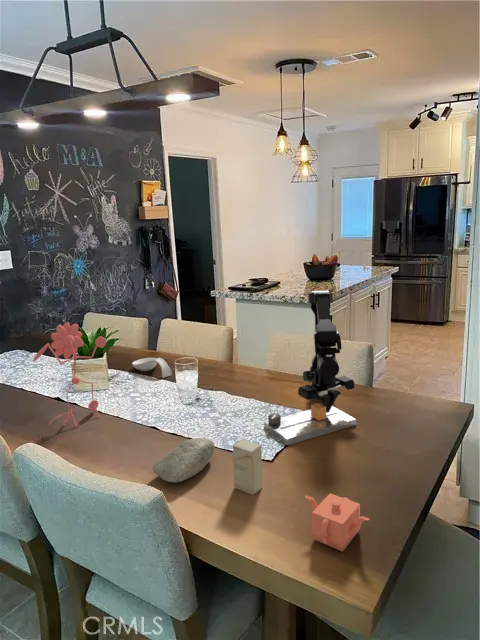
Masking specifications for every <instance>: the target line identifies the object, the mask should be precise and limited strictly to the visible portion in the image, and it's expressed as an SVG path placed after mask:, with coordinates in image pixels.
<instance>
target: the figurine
mask: <svg viewBox="0 0 480 640" xmlns="http://www.w3.org/2000/svg"><path fill="white" fill-rule="evenodd" d="M55 331H56V332H52V333H51V334H50V337H51V340H52V341H53V342H51V343H46V344H45V345H44V346H42V347H41V349H39V351H37V353H36V354H35V356H34V358H33V360H32V362H35V361H37V360H38V359H39V358H41V356H42V355H43V354H44V353H45V351H46V350H47V349H48V348H49V350H50V352H51V353H52V354H53V355H54V357H55V358H56V360H57V361H58V362H59V364H60V365H64V364H65V363H67V362H70V361H72V360H73V362H74V363H73V377H72V378H71V380H70V381H71V383H70V385H69V387H68V390H67V392H66V394H65V395H66V401H67V407H68V412H63V413H62V414H61V415H59V416H57V417H55V418H54V419H51V420H50V422H49V424H51V423H52V422H54V420H56V419H57V418H59V417H61V416H62V415H64V414H66V415H65V418H64V419H63V425H64V426H65V425H66V423H67V421H68V420H69V419H70V417H71V419H72V421H73V424H74V425H75V428H77V427H78V425H77V422H76V420H75V416H74V414H73V411H79V410H80V408H78V409H74V408H71V409H70V403H69V396H68V393H69V392H70V390H71V387H72V385H78V384H79V383H80V382H82V383H87V384H91V398H92V399H91V401H90V402H89V403H88V405H87V406H88V408H87V409H88V410H89V411H90V412H95V414H97V416H98V417H97V418H100V417H101V416H100V414H99V411H98V409H97V408H98V407H99V401H98V400H96V399H94V384H93V382H91V381H85V380H81V379H80V378H79V377H78V376H76V365H77V364H76V362H77V359H93V357H94V355H95V353H96V350H97V348H101V349H102V348H104V347H105V346H106V345H107V339H106V338H105V337H103V336H101V335H100V336H98V337H97V338H96V339H95V343H94V344H95V347H94V349H93V351H92V353H91V356H81V355H80V356H78V348H81V347H83V346H84V344H85V343H84V341H83V339H82V338H81V337H82V336H83V333H82V332H81V331H79V324H77V323H74V324H72V325H70V322H69V321H67V322H65V323H64V324H63V325H62V324H58V325H57V326H56V330H55ZM54 350H55V351H54ZM59 356H60V357H61V356H63V357H64V359H65V360H64V361H61V359H60V358H59ZM72 356H73V357H72ZM70 357H71V358H70ZM73 409H74V410H73ZM112 411H113V412H115V410H114V409H112Z"/></svg>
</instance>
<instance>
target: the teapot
mask: <svg viewBox="0 0 480 640" xmlns="http://www.w3.org/2000/svg"><path fill="white" fill-rule="evenodd" d="M304 497H305V498H306V499H307V500H308V501H309V503H310V505H311V510H312V512H311V539H312V540H314V541H316V542H318V543H321V544H323V545H325V546H328V547H330V548H333V549H335V550H337V551H340V552H344V551H345V550H346V549H347V547H348V546H349V544H350V543H351V542H352V541H353V540H354V538H355V536H356V535H357V534H358V532H360V529H361V527H362V524H363V523H364V522H366V521H370V518H369V517H368V516H364V515H362V516H361V515H360V514H361V503H359V502H356V501H353V500H351V499H349V497H345V496H344V497H342V496H338V495H335V494H333V493H329V494H328V495H326V497H325V498H324V499H323V500H322V501H321V502H320V503H319V504H317V502H316V500H315V499H314V498H313V497H312V496H310V495H305V496H304Z"/></svg>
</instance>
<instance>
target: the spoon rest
mask: <svg viewBox="0 0 480 640" xmlns="http://www.w3.org/2000/svg"><path fill="white" fill-rule="evenodd" d="M131 364H132V366H133V367H134V369H136V370H139V371H141V372H148V371H152V370H153V369H154V368H155V367H156V366H157V365H159V368H160V369H161V376H162V379H165V378H168V377H170V376H172V375H173V374H172V369H171V367H170V366H169V365H168V363H167V362H166V360H164V359H163V358H161V357H158V358H157V357H145V358H144V357H143V358H140V359H136V360H134V361H133V362H132V363H131Z"/></svg>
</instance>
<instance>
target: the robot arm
mask: <svg viewBox="0 0 480 640" xmlns="http://www.w3.org/2000/svg"><path fill="white" fill-rule="evenodd" d="M333 297H334V296H333V292H329V290H327V289H326V290H311V293H308V294H307V301H308V304H309V308H310V310H311V311H312V312H313V314H314V332H313V344H314V345H313V346H314V356H313V358H312V359H311V365H309V370H305V371H302V379H303V381H304V382H308V383H311V385H310V384H305V385H301V386H299V388H298V389H297V393H298V395H299V397H301V398H303V399H304V400H307V401H312V400H315V399H317V400H319V401H320V402H321V404H322V405H323V406H325V407H326V412H329V411H330V409H331V407H332V406H334V404H335V401H336V399H337V398H338V397H339V395H341V394H342V393H341V391H339V388H340V387H341V388H342V387H344V388H345V389H346V390H348V391H349V390H353V389H355V388H356V387H355V381H354V379H353V378H350V377H348V376H346V375H343V376H338V377H336V376H337V375H338V374H339V372H340V367H339V363H338V360H337V358H336V354H340V353H341V350H342V348H343V347H342V339H341V335H340V332H339V331H337V328H336V324H334V323H333V321H332V319H331V310H330V309H331V304H333V301H334V300H333V299H334V298H333Z"/></svg>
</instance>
